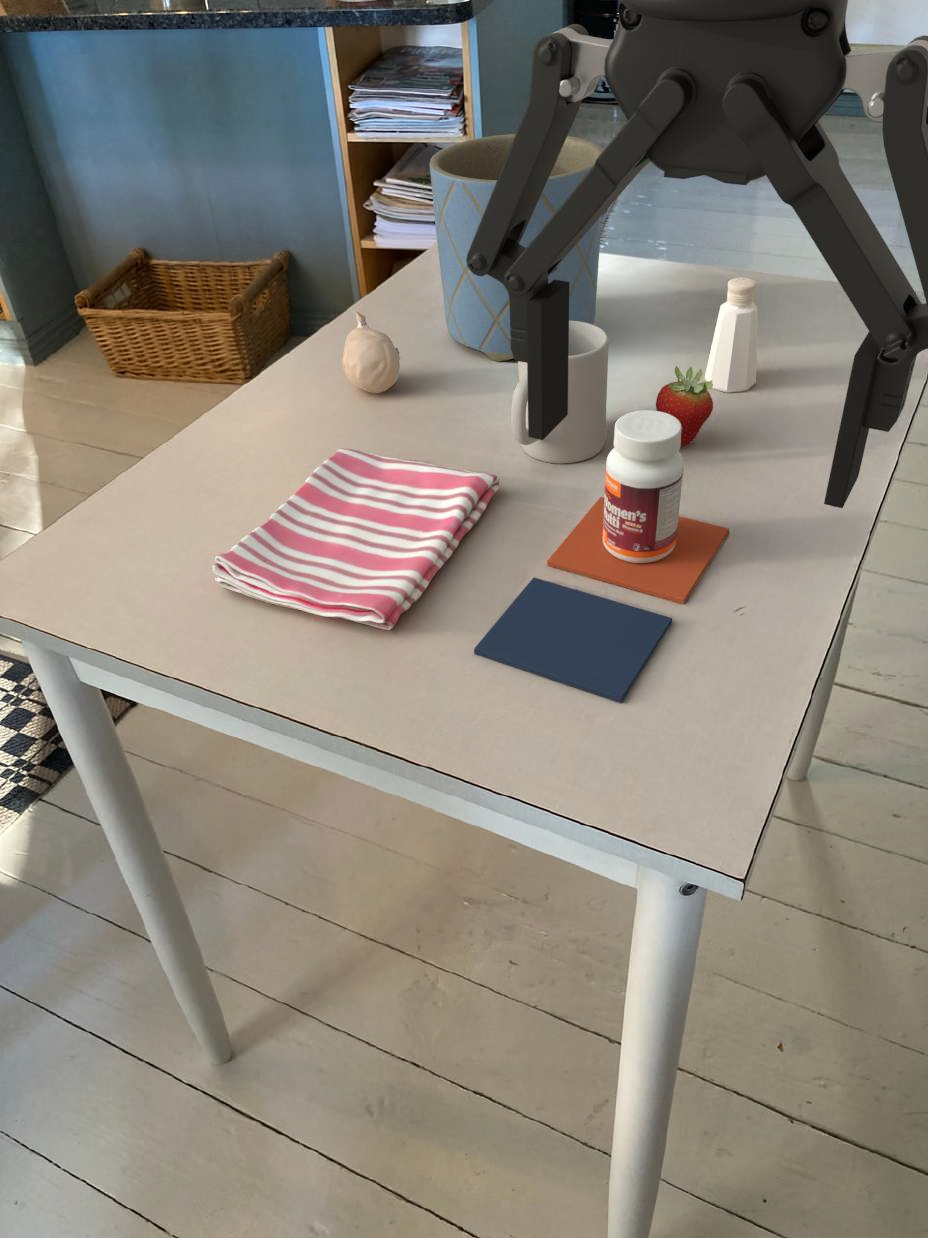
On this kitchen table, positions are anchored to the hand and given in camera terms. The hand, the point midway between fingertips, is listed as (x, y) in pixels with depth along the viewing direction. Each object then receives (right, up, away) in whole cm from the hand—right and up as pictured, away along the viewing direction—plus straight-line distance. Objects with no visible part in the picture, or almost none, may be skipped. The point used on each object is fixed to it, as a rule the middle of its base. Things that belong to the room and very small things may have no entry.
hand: (685, 456), depth 44 cm
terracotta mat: (+5, -1, +40) cm, 41 cm away
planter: (-3, +27, +76) cm, 81 cm away
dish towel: (-18, 0, +44) cm, 47 cm away
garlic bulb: (-20, +18, +67) cm, 72 cm away
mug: (-1, +9, +54) cm, 55 cm away
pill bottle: (+5, -1, +40) cm, 40 cm away
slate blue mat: (-1, -9, +32) cm, 33 cm away
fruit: (+11, +10, +53) cm, 55 cm away
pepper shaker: (+19, +18, +63) cm, 68 cm away
